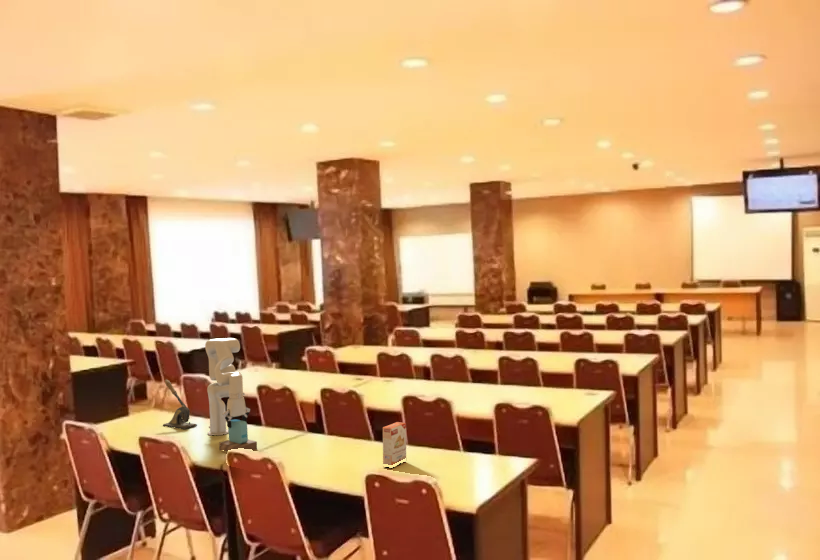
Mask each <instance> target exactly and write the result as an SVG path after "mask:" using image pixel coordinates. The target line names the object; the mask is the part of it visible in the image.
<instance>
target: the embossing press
mask: <svg viewBox="0 0 820 560" xmlns="http://www.w3.org/2000/svg"><path fill="white" fill-rule="evenodd" d="M164 384H165V385H166V387H167V388H168V389H169V390H170V392H171V394H172V395H173V397H175V398H176V399H177V400H178V402H179V404H180V405H181V406H180V407H178V408H177V409H176V410H175V412H174V414H173V416H172V418H171V419H170V421H169V422H164V423H163V424H162V426H163V427H165V426H168V427H167V428H172V427H175V428H174V429H179V428H181V429H180V430H188V429H191V427H192V428H194V427H197V426H198V424H197V423H191V421H189V420H190V415H191V413H190V411H191V410H190V408H189V407H187V406H186V404H185V403H184V402H183V400H182V399H181V398H180V396H179V395H178V392H177V390H176V389H175V388H174V387H173V384H172V382H171V381H170V380H168V379H165V381H164ZM187 428H188V429H187Z"/></svg>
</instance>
